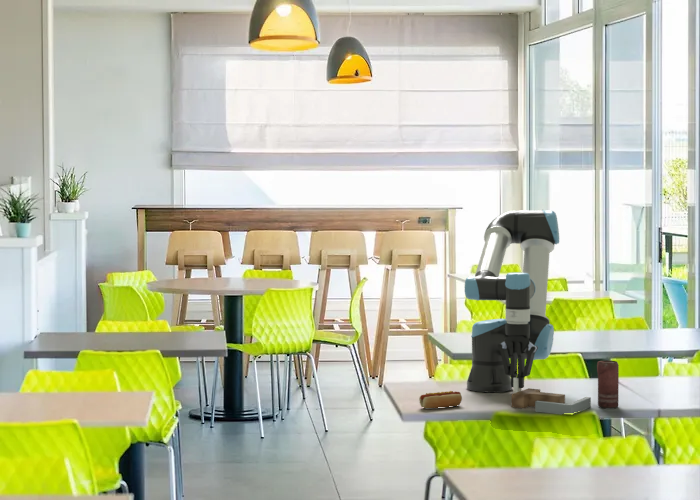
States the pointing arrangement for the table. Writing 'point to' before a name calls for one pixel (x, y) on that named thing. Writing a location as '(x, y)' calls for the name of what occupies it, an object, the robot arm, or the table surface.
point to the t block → (534, 398)
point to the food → (440, 399)
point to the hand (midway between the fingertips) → (517, 398)
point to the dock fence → (563, 406)
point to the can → (608, 383)
